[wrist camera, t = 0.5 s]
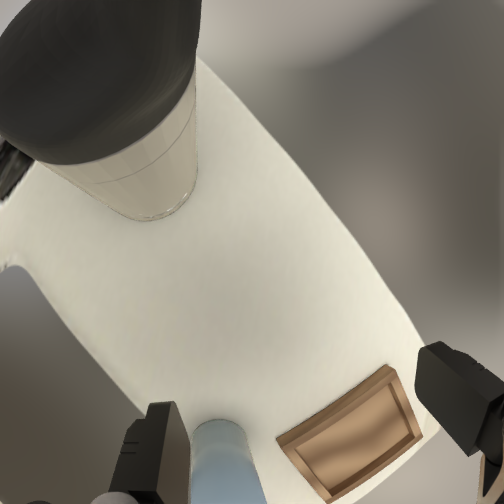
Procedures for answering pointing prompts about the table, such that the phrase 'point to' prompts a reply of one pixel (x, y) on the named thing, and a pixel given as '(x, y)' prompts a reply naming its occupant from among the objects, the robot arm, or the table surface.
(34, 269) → the table surface
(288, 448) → the tray
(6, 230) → the table surface
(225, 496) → the pale blue cylinder
